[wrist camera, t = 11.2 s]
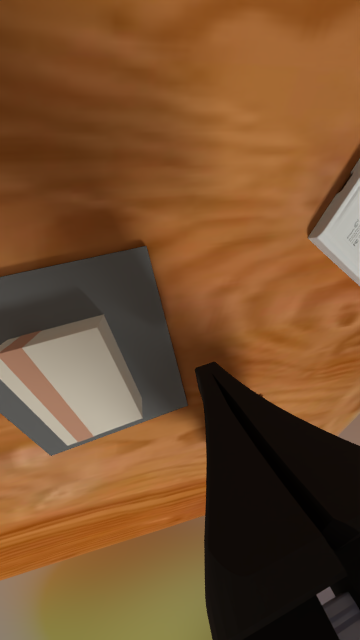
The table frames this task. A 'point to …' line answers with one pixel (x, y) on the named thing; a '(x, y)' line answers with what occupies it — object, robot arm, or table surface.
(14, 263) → the table surface
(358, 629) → the robot arm
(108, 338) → the card deck
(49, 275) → the mat
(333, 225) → the external hard drive
